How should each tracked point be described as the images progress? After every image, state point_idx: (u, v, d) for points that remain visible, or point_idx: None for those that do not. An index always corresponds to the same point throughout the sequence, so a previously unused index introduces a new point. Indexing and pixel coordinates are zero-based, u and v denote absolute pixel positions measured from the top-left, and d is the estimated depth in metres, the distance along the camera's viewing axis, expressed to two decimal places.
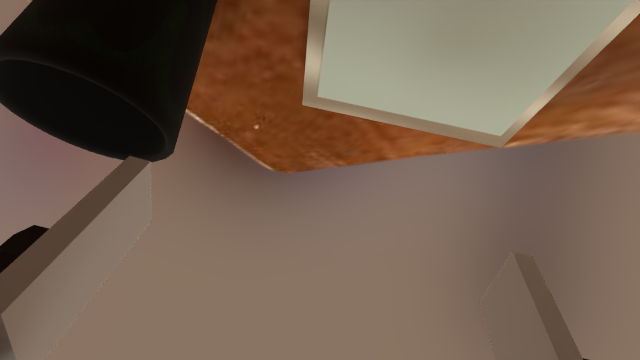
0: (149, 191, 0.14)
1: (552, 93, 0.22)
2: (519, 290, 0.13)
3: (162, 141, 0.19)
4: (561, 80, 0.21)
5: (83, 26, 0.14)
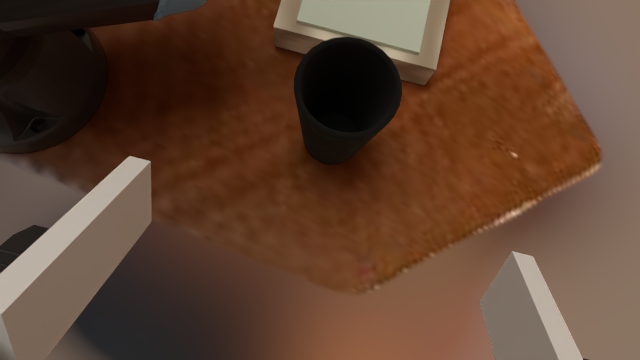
0: (149, 191, 0.14)
1: None
2: (519, 290, 0.13)
3: (384, 66, 0.29)
4: None
5: None
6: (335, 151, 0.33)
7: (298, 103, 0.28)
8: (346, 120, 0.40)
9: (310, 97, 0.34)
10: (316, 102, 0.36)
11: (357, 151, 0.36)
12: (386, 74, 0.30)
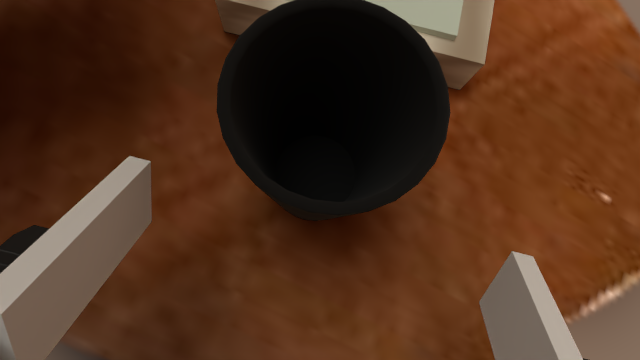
0: (149, 191, 0.14)
1: None
2: (520, 290, 0.13)
3: (408, 56, 0.14)
4: None
5: None
6: (316, 217, 0.17)
7: (225, 138, 0.13)
8: (338, 148, 0.25)
9: (272, 116, 0.19)
10: (285, 122, 0.21)
11: None
12: (413, 72, 0.15)
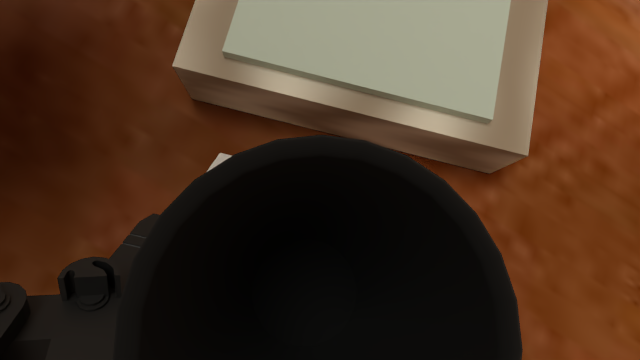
0: None
1: None
2: None
3: (446, 229, 0.09)
4: None
5: None
6: None
7: None
8: (335, 256, 0.19)
9: (240, 251, 0.14)
10: (262, 243, 0.16)
11: None
12: (453, 252, 0.09)
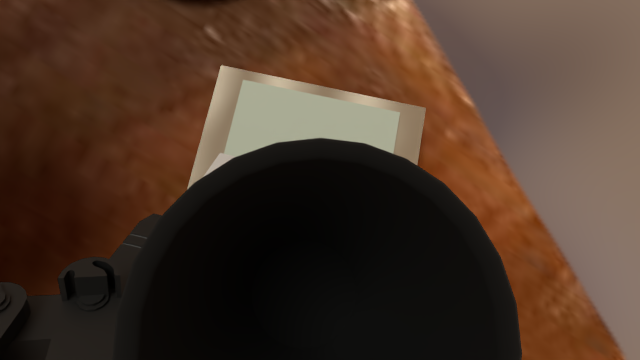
0: None
1: (346, 94, 0.31)
2: None
3: (446, 232, 0.09)
4: (332, 93, 0.31)
5: None
6: None
7: None
8: (335, 257, 0.19)
9: (240, 253, 0.14)
10: (262, 244, 0.16)
11: None
12: (453, 255, 0.09)
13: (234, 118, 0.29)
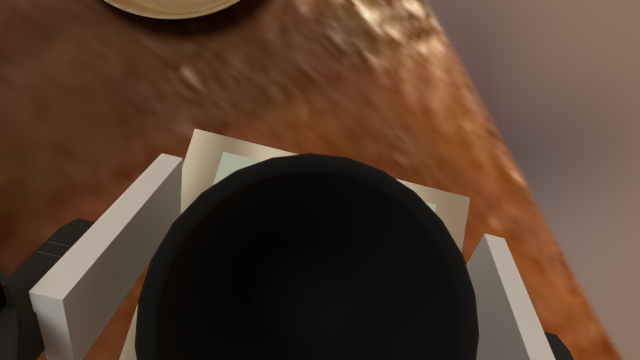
0: (180, 188, 0.15)
1: None
2: (489, 270, 0.13)
3: (418, 234, 0.10)
4: None
5: None
6: None
7: None
8: (328, 257, 0.20)
9: (240, 253, 0.15)
10: (260, 245, 0.17)
11: None
12: (425, 253, 0.10)
13: None
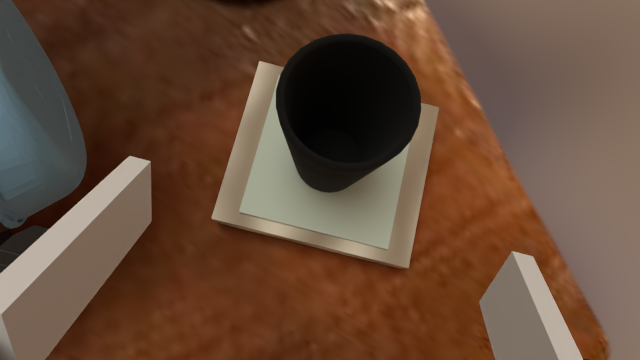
0: (149, 191, 0.14)
1: None
2: (520, 290, 0.13)
3: (396, 73, 0.22)
4: None
5: None
6: (333, 182, 0.25)
7: (281, 123, 0.20)
8: (347, 138, 0.32)
9: (301, 112, 0.27)
10: (309, 117, 0.29)
11: None
12: (399, 83, 0.22)
13: (270, 108, 0.33)
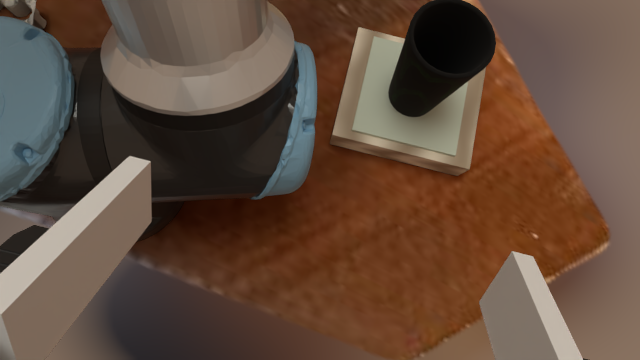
0: (149, 191, 0.14)
1: None
2: (520, 290, 0.13)
3: (478, 23, 0.36)
4: None
5: None
6: (430, 97, 0.39)
7: (413, 50, 0.34)
8: None
9: None
10: None
11: (440, 102, 0.43)
12: (479, 29, 0.36)
13: (369, 59, 0.47)
